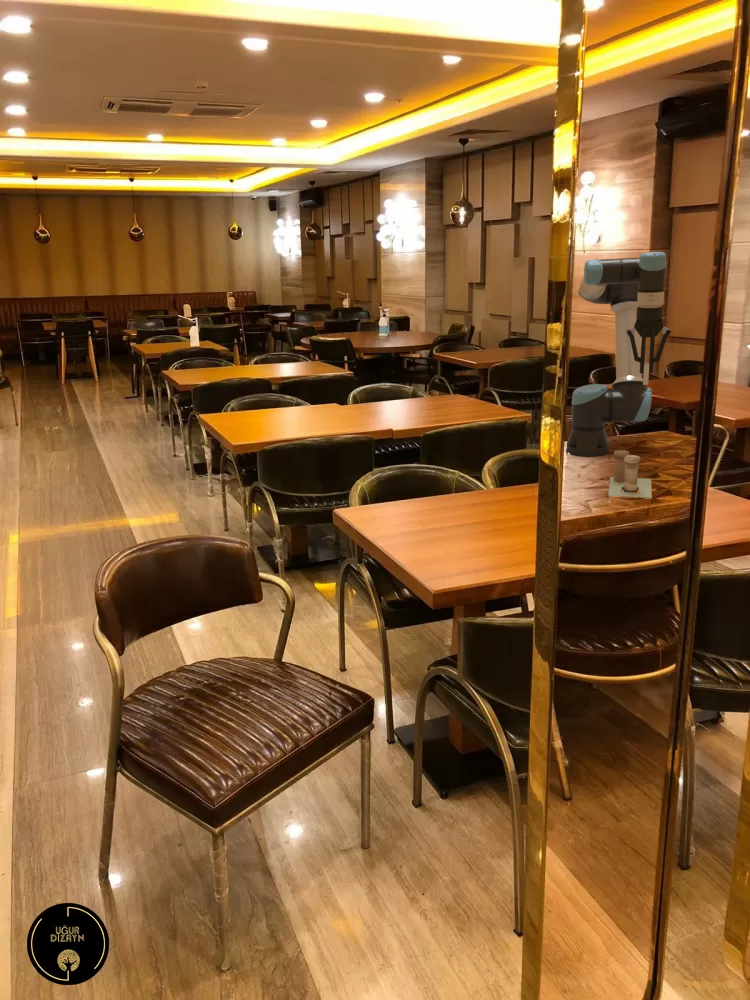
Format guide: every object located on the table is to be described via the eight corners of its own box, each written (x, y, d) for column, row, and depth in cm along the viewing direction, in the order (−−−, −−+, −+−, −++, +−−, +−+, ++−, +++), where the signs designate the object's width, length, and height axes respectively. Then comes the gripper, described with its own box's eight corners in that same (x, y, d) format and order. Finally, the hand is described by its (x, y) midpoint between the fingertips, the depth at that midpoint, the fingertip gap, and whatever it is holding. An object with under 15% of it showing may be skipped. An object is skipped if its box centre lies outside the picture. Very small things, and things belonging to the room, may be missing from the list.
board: (609, 489, 253) (611, 449, 249) (650, 491, 250) (652, 450, 245) (607, 508, 238) (609, 465, 234) (651, 510, 235) (653, 467, 230)
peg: (622, 499, 244) (624, 454, 239) (637, 500, 243) (640, 455, 238) (621, 504, 240) (624, 459, 235) (637, 505, 239) (640, 460, 234)
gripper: (627, 308, 242) (623, 386, 250) (673, 307, 239) (668, 386, 247) (627, 304, 249) (623, 381, 257) (672, 304, 245) (667, 381, 253)
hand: (645, 383), depth 252 cm, fingers closed
